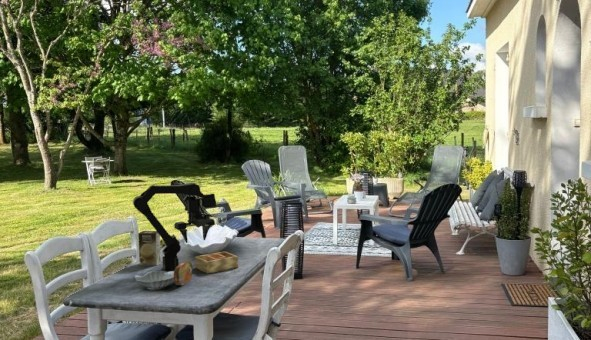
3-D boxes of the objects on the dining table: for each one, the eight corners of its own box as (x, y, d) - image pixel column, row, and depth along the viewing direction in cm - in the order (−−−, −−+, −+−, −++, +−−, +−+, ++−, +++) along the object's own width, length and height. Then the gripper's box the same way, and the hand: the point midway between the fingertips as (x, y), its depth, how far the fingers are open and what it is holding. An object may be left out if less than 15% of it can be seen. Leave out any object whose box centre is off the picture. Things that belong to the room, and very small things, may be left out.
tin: (180, 288, 231) (179, 268, 230) (173, 287, 232) (172, 268, 231) (193, 277, 246) (192, 259, 245) (187, 277, 247) (186, 259, 246)
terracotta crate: (214, 269, 256) (214, 258, 256) (207, 266, 263) (206, 255, 263) (226, 267, 260) (225, 256, 259) (218, 263, 266) (217, 253, 266)
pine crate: (207, 273, 252) (206, 261, 251) (195, 268, 262) (194, 256, 262) (238, 267, 261) (237, 256, 260) (225, 262, 271) (225, 251, 271)
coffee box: (139, 265, 270) (137, 233, 268) (143, 262, 276) (142, 230, 275) (157, 265, 269) (155, 233, 267) (161, 262, 275) (160, 230, 274)
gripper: (182, 213, 252) (183, 247, 253) (219, 209, 262) (220, 241, 263) (173, 210, 261) (174, 243, 262) (209, 206, 271) (210, 237, 273)
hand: (195, 241), depth 265 cm, fingers open, 9 cm apart
